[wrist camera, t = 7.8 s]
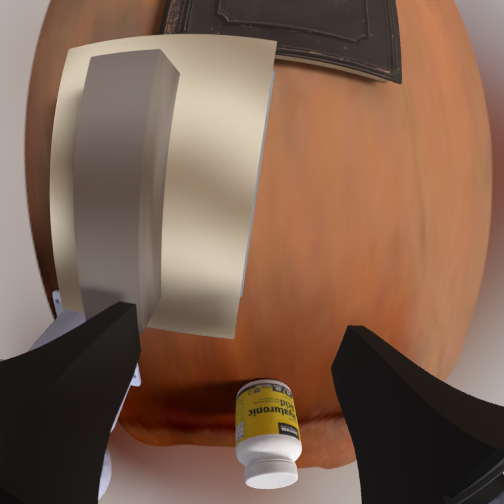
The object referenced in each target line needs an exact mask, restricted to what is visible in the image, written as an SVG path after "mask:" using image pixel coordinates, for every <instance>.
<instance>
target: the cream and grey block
mask: <svg viewBox="0 0 504 504" xmlns="http://www.w3.org/2000/svg"><path fill="white" fill-rule="evenodd" d="M276 46H277V41H271V40H265V39H257V38H249V37H240V36H228V35H211V34H168V35H152V36H140V37H131V38H123V39H116V40H110V41H104V42H99V43H94V44H89V45H84V46H80V47H76V48H72V49H69V51H68V55H67V58H66V62H65V66H64V70H63V74H62V79H61V83H60V88H59V93H58V99H57V105H56V111H55V118H54V126H53V135H52V145H51V160H50V218H51V233H52V244H53V253H54V261H55V268H56V275H57V281H58V287H59V292H60V297H61V302H62V307H63V308H64V309H68V310H71V311H75V312H79V313H83V314H85V318H86V321H87V320H89V319H90V318H92V317H94V316H95V315H97V314H99V313H100V312H102V311H103V310H105V309H107V308H108V307H110V306H112V305H113V304H115V303H117V302H119V301H122V302H127V303H133V304H136V308H137V320H138V330H139V333H143V332H144V330H145V328H146V327H150V328H156V329H162V330H168V331H175V332H181V333H188V334H196V335H203V336H211V337H220V338H229V339H234V335H235V328H236V321H237V313H238V306H239V299H240V292H241V285H242V277H243V270H244V263H245V256H246V249H247V242H248V235H249V228H250V221H251V214H252V207H253V200H254V193H255V186H256V179H257V172H258V165H259V158H260V152H261V145H262V138H263V131H264V125H265V118H266V111H267V105H268V98H269V91H270V85H271V78H272V72H273V65H274V59H275V52H276Z"/></svg>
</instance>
